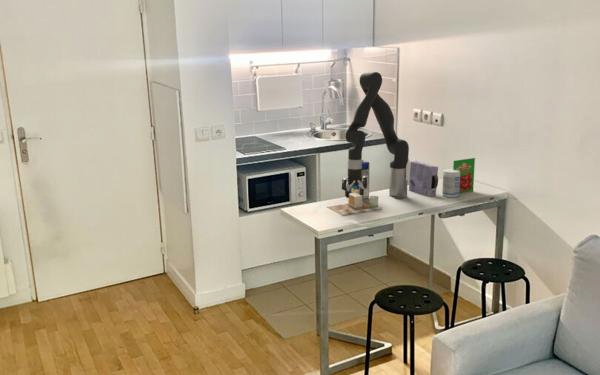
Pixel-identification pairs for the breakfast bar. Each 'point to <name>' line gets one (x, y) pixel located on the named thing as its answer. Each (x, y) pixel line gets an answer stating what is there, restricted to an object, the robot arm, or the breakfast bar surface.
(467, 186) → the tomato puree packet
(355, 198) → the cream block
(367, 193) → the beverage box
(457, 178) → the supplement tub
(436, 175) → the cake pan box
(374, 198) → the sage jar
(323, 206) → the breakfast bar surface
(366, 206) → the board
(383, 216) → the breakfast bar surface
